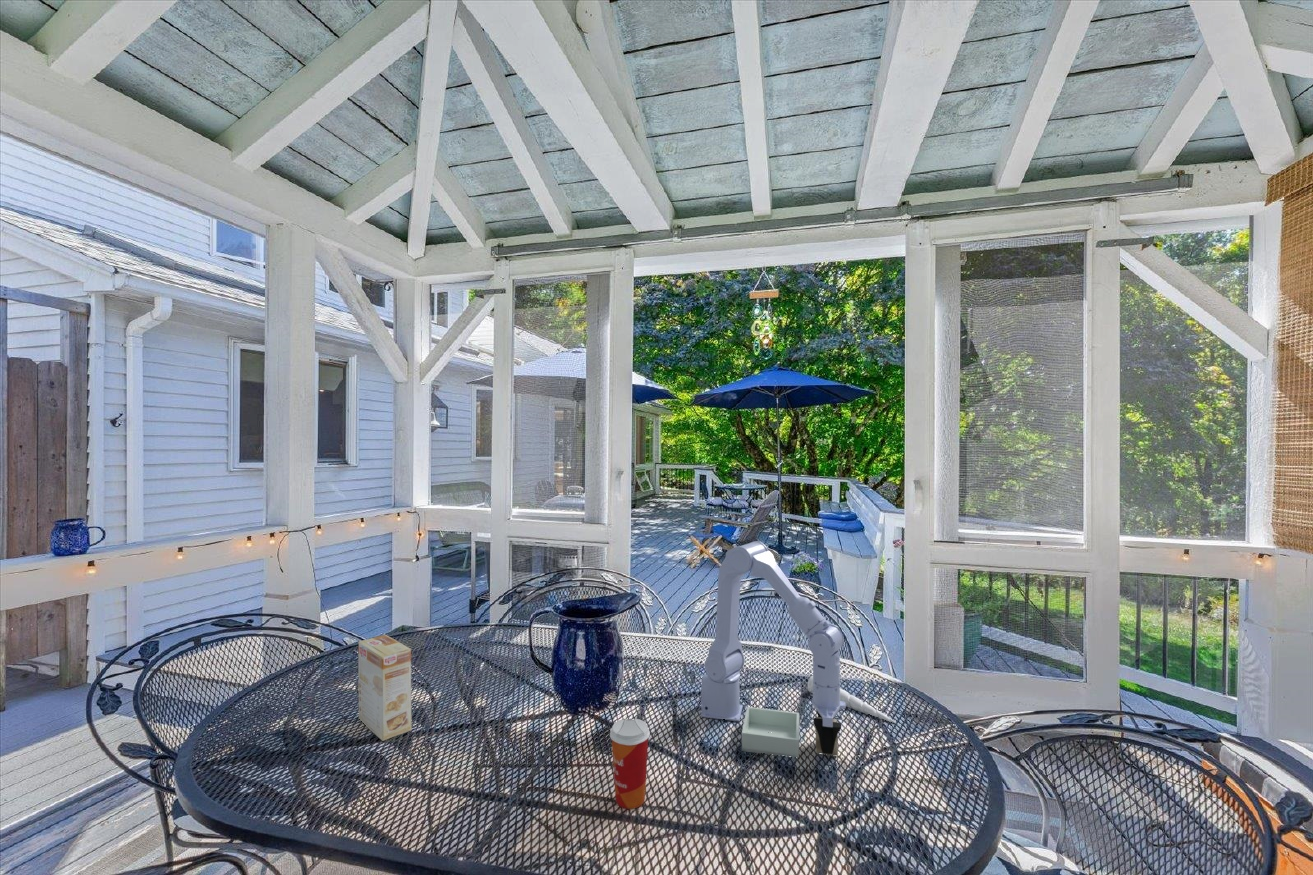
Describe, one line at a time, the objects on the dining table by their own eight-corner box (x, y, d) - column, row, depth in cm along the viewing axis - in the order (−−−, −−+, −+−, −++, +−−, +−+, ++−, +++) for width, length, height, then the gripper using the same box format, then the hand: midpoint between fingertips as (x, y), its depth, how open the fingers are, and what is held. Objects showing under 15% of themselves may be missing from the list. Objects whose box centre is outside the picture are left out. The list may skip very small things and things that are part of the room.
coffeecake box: (412, 730, 134) (412, 648, 134) (381, 742, 129) (381, 657, 128) (387, 709, 144) (386, 633, 144) (357, 720, 139) (356, 641, 139)
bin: (741, 750, 124) (741, 732, 124) (747, 723, 136) (747, 706, 136) (798, 758, 121) (798, 740, 121) (799, 729, 133) (799, 712, 133)
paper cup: (610, 788, 111) (609, 717, 111) (648, 785, 112) (648, 715, 112) (610, 814, 104) (609, 739, 103) (651, 812, 104) (651, 736, 104)
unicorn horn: (887, 730, 133) (887, 710, 133) (805, 694, 152) (805, 676, 152) (898, 724, 136) (898, 704, 136) (816, 689, 155) (816, 671, 155)
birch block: (816, 754, 123) (816, 726, 123) (815, 743, 127) (815, 716, 127) (837, 757, 122) (837, 729, 122) (836, 745, 126) (836, 719, 126)
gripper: (847, 699, 116) (848, 764, 116) (843, 670, 130) (843, 728, 130) (812, 695, 118) (812, 759, 118) (811, 667, 132) (811, 724, 132)
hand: (826, 743), depth 124 cm, fingers open, 7 cm apart
